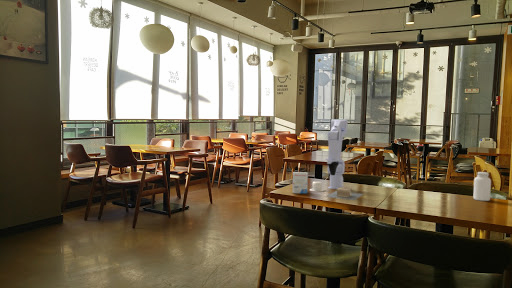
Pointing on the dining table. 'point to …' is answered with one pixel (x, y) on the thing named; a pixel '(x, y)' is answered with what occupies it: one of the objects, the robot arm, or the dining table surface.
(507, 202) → the dining table surface
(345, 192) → the beech block
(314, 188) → the espresso cup
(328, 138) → the robot arm
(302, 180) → the ink box
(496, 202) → the dining table surface
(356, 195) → the mat
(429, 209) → the dining table surface
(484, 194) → the pill bottle
